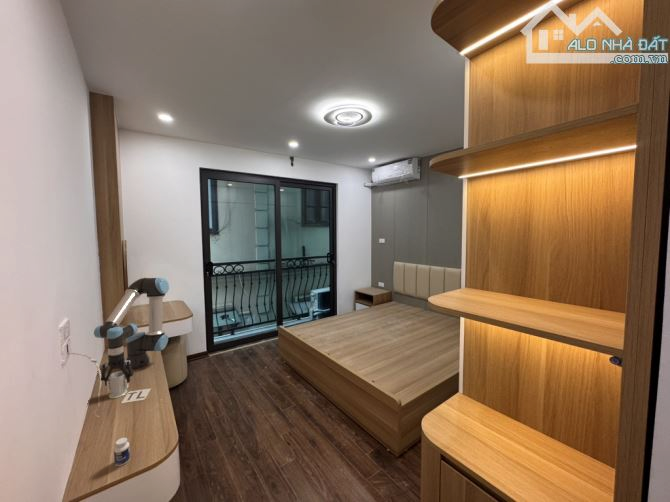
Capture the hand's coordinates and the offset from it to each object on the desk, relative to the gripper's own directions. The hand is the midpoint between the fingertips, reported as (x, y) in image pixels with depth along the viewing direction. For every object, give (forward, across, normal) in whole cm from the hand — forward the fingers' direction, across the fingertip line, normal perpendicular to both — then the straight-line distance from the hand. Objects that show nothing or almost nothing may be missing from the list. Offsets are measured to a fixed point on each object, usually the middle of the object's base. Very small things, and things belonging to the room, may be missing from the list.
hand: (118, 388), depth 169 cm
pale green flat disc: (+3, 0, 0) cm, 3 cm away
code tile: (+3, +11, -5) cm, 13 cm away
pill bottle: (+4, +22, -59) cm, 63 cm away
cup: (+3, 0, 0) cm, 3 cm away
